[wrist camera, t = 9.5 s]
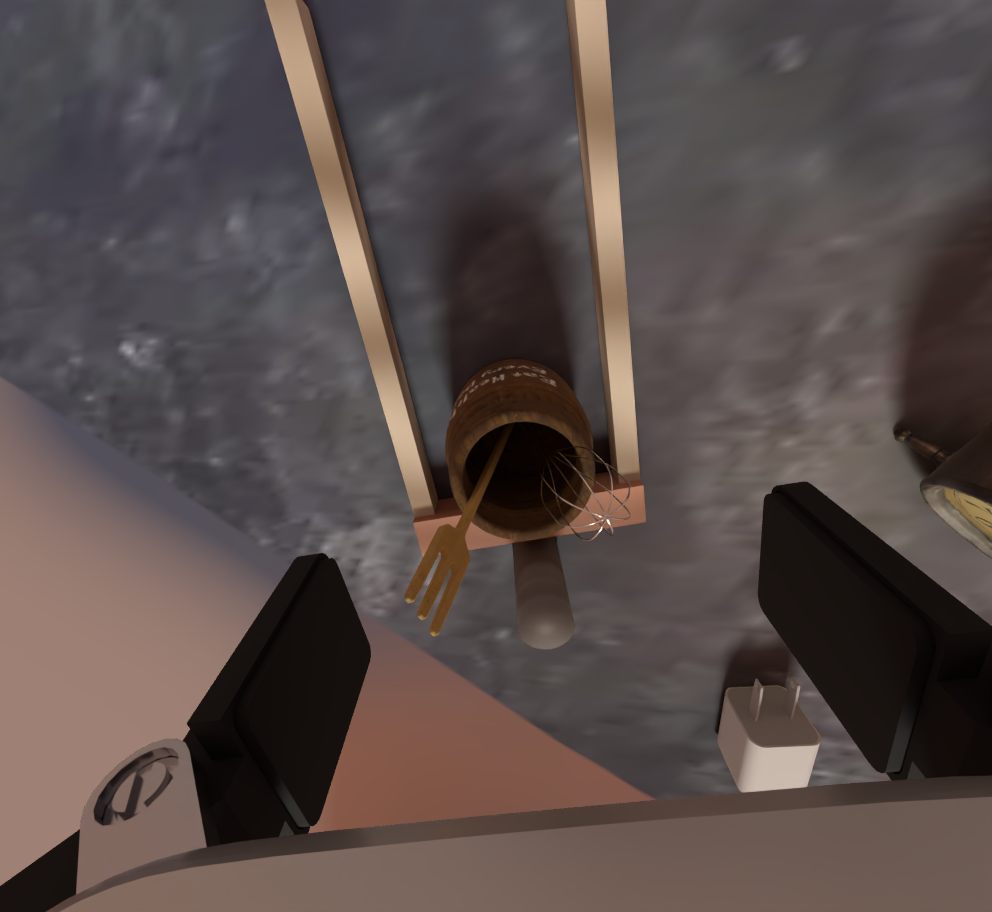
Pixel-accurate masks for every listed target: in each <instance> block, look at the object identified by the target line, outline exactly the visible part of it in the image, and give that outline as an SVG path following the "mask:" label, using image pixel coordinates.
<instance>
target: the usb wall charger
mask: <svg viewBox="0 0 992 912" xmlns="http://www.w3.org/2000/svg"><path fill="white" fill-rule="evenodd" d="M793 683H794V684H795V687H796V690H795V689H794V686H793ZM757 685H758V686H757ZM799 690H800V686H799V684H798V683H797V681H796V680H795V679H794V677H792V678H791V680H790V683H789V686H788V689H786V688H784V687H782V686H779V685H771V686H762V685H761V684H760V682H759V680H758V679H755V683H754V686H751V687H731V688H728V689H727V690H726V692H725V697H724V703H723V709H722V715H721V721H720V727H719V733H718V739H717V743H718V746H719V748H720V750H721V752H722V754H723V757H724V759H725V761H726V763H727V765H728V767H729V770H730V772H731V774H732V776H733V778H734V780H735V783H736V785H737V787H738V788H739V790H740V791H741V792H755V791H766V790H778V789H790V788H801V787H807V785H808V781H809V778H810V775H811V771H812V768H813V764H814V761H815V758H816V754H817V751H818V747H819V744H820V741H821V738H820V735H819V733H818V731H817V730H816V729H815V727H814V726H813V724H812V723H811V721H810V720H809V718H808V717H807V715H806V714H805V712H804V711H803V710H802V708H801V707H800V705H799V704H798V702H797V701H798V696H799Z"/></svg>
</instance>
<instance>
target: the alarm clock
mask: <svg viewBox="0 0 992 912" xmlns="http://www.w3.org/2000/svg"><path fill="white" fill-rule="evenodd" d="M895 439H896V440H897V441H899V442H905V443H907V444H909V445H910V446H911V447H912V449H914V450H915V451H916V452H918V453H919V454H920V455H922V456H923V457H925V458H927V459H929V460H931V461H933V462H934V463H935V464H936V470H935V471H934V472H933V473H931V474H930V475H929V476H928V477H927V478H925V479H923V480H922V481H921V483H920V491H921V494H922V496H923V498H924V500H925V502H926V503H927V504H928V505H929V507H930V508H931V509H932V510H933V511H934V512H935V513H936V514H937V515H938V516H939V517H940V518H941V519H942V520H943V521H945V522H946V523H947V524H948V525H949V526H950V527H951V528H952V529H953V530H955V531H956V532H957V533H958V534H960V535H961V536H962V537H963V538H965V539H966V540H967V541H969V542H970V543H971V544H973V545H974V546H975V547H976V548H978V549H979V550H980V551H982V552H983V553H984V554H985V555H987V556H988V557H990V558H992V423H991V424H989V425H988V426H987V427H985V428H984V429H983V430H982V431H981V432H979V433H978V434H977V435H976V436H975V437H973V438H972V439H971V440H970V441H969V442H967V443H966V444H965V445H964V446H963V447H962V448H960V449H959V450H958V451H957V452H949V451H946V450H944V449H942V448H941V447H939V446H938V445H936V444H933V443H931V442H928V441H925V440H922V439H919V438H916V437H914V436H913V435H912V433H911V431H909V430H907V429H900V430H898V431H897V433H896V434H895Z"/></svg>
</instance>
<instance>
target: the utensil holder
mask: <svg viewBox="0 0 992 912" xmlns="http://www.w3.org/2000/svg"><path fill="white" fill-rule="evenodd" d="M594 455H595V456H596V457H597V458H598V459H599V460H600V461H598V460H595V459H594ZM446 460H447V464H448V468H449V479H450V484H451V489H452V492H453V495H454V498H455V500H456V502H457V504H458V506H459V508H460V509H461V511H462V512H463V514H462V516H461V518H460V520H459V522H458V524H457V526H456V528H455V527H453V526H451V525H449V524H445V525H442V526H439V527H438V529H437V531H436V533H435V535H434V537H433V539H432V541H431V543H430V545H429V547H428V549H427V551H426V553H425V555H424V557H423V559H422V561H421V563H420V565H419V567H418V569H417V571H416V573H415V575H414V577H413V579H412V581H411V583H410V585H409V587H408V589H407V591H406V593H405V600H406V601H407V602H408V603H411V602H414V601H415V599H416V597H417V595H418V593H419V591H420V589H421V587H422V585H423V583H424V581H425V580H426V578H427V576H428V574H429V572H430V570H431V568H432V566H433V564H434V562H435V561H436V559H437V557H438V555H439V553H440V554H441V560H440V562H439V564H438V567H437V569H436V571H435V573H434V576H433V578H432V580H431V582H430V584H429V587H428V589H427V591H426V593H425V596H424V598H423V600H422V602H421V605H420V607H419V609H418V617H419V618H420V619H421V620H423V619H426V618H427V616H428V614H429V612H430V610H431V608H432V606H433V604H434V601H435V599H436V597H437V595H438V593H439V591H440V589H441V587H442V585H443V583H444V580H445V578H446V576H447V574H448V572H449V570H450V568H451V576H450V579H449V581H448V584H447V586H446V589H445V591H444V594H443V596H442V599H441V601H440V603H439V606H438V608H437V611H436V613H435V616H434V618H433V621H432V623H431V626H430V633H431V634H432V635H433V636H436V635H438V634H439V632H440V630H441V628H442V626H443V623H444V621H445V619H446V616H447V614H448V612H449V609H450V607H451V605H452V602H453V600H454V598H455V595H456V593H457V591H458V588H459V586H460V584H461V582H462V579H463V577H464V575H465V572H466V570H467V567H468V565H469V562H470V555H469V551H468V548H467V544H466V541H465V535H466V533H467V530H468V528H469V526H470V524H471V522H472V523H473V524H474V525H476V526H477V527H479V528H480V529H482V530H483V531H485V532H487V533H489V534H492V535H494V536H497V537H500V538H505V539H510V540H532V539H538V538H542V537H545V536H548V535H551V534H553V533H555V532H557V531H559V530H561V529H563V528H564V527H569V528H571V529H572V531H573V532H574V533H575V534H576V536H577V537H578V538H579V539H581V540H583V541H590V540H592V539H594V538H595V537H596V536H597V535H598V534H599V533H600V531H601V530H602V528H603V529H604V530H605V531H606V532H607V533H608V534H609V535H610V536H614V531H613V528H612V526H611V524H610V521H609V519H614V520H627V519H629V518H630V516H631V513H630V511H629V510H628V509H627V508H626V506H625V505H624V504H625V503H626V501H627V500H628V498H629V495H630V485H629V483H628V481H627V480H626V479H625V478H624V477H623V476H622V475H621V474H620V473H619V472H617V471H616V470H615V469H614V468H612V467H611V466H610V465H608V464H606V463H605V462H604V461H603V460H602V459H601V458H600V457H598V456H597V455H596V454H595V453H594V452H593V437H592V432H591V428H590V424H589V421H588V419H587V416H586V414H585V412H584V410H583V408H582V406H581V404H580V403H579V401H578V399H577V398H576V396H575V394H574V393H573V391H572V390H571V388H570V387H569V386H568V384H567V383H566V382H565V381H564V380H563V379H562V378H561V377H560V376H559V375H558V374H557V373H556V372H554V371H553V370H551V369H550V368H548V367H546V366H544V365H542V364H540V363H537V362H534V361H530V360H524V359H508V360H503V361H499V362H496V363H493V364H490V365H488V366H486V367H484V368H483V369H481V370H480V371H478V372H477V373H476V374H475V375H474V376H472V377H471V378H470V379H469V381H468V382H467V383H466V384H465V385H464V387H463V388H462V390H461V392H460V393H459V395H458V397H457V400H456V402H455V405H454V408H453V411H452V414H451V417H450V421H449V425H448V429H447V435H446ZM595 461H597V462H600V463H603V464H604V465H605V466H606V467H607V469H608V472H609V475H610V479H611V492H610V491H609V490H607V489H606V488H605V487H603V486H602V485H600V484H599V483H597V482H596V481H595ZM608 467H610V468H611V469H613V470H614V471H615V472H616V473H617V474H618V475H619V476H621V477H622V478H623V479H624V480H625V482H626V483H627V484H628V487H629V492H628V496H627V498H626V500H625V501H624V503H622V502H621V501H620V500H619V499H617V498H616V497H615V496H614V495H613V481H612V476H611V472H610V470H609V468H608ZM594 482H595V483H597V484H598V485H599V486H601V487H602V488H604V489H605V490H606V491H608V492H609V493H610V494H611V499H610V504H609V508H608V512H607V515H606V513H605V511H604V510H603V508H602V506H601V504H600V503H599V501H598V499H597V497H596V496H595V494H594V493H593V491H592V490H593V487H594ZM591 493H592V494H593V496H594V498H595V499H596V501H597V503H598V504H599V506H600V508H601V510H602V511H603V513H604V515H605V516H603V515H599V514H595V513H592V512H591V511H590V510H589V509H588V508H587V506H586V504H587V502H588V500H589V498H590V496H591ZM612 497H614V498H615V499H616V500H617V501H618V502H619V503H620V504H621V506H620V507H619V508H618V509H617V510H615V511H614V512H612V513H611V514H609V511H610V508H611V504H612ZM622 506H623V507H624V508H625V509H626V510H627V511H628V513H629V516H628V517H627V518H612V517H609V516H611V515H613V514H614V513H615V512H617V511H618V510H619V509H620V508H621V507H622ZM584 507H586V509H587V510H588V511H587V510H584ZM582 511H584V512H587V513H590V514H591V515H592V516H593V517H594V518H595V520H596V522H594V523H591V524H587V525H583V526H570V523H571V522H572V521H573V520H574V519H575V518H576V517H577V516H578V515H579V514H580V513H581V512H582ZM608 514H609V515H608ZM594 515H596V516H599V517H604V518H602V519H600V520H597V519H596V517H595V516H594ZM606 517H607V518H606ZM604 519H605V520H604ZM602 520H604V522H603V524H601V523H600V521H602ZM606 520H607V521H608V523H609V526H610V528H611V530H612V534H610V533H609V532H608V531H607V530H606V529H605V527H604V524H605V522H606ZM596 523H599V524H600V525H601V528H600V530H599V531H598V533H597V534H596V535H595V536H594V537H592V538H590V539H582V538H581V537H580V536H579V535H578V534H577V533H576V532H575V531H574V529H573V528H581V527H587V526H590V525H593V524H596Z"/></svg>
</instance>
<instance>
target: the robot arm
mask: <svg viewBox="0 0 992 912" xmlns="http://www.w3.org/2000/svg"><path fill="white" fill-rule="evenodd" d="M758 599H759V603H760V606H761V608H762V610H763V612H764V614H765V615H766V617H767V618H768V619H769V621H770V622H771V624H772V625H773V627H774V628H775V629H776V631H777V632H778V634H779V635H780V637H781V638H782V639H783V641H784V642H785V644H786V645H787V647H788V648H789V649H790V651H791V652H792V654H793V655H794V656H795V658H796V659H797V661H798V662H799V664H800V665H801V666H802V668H803V669H804V671H805V672H806V674H807V675H808V676H809V678H810V679H811V681H812V682H813V684H814V685H815V686H816V688H817V689H818V691H819V692H820V694H821V695H822V696H823V698H824V699H825V701H826V702H827V703H828V705H829V706H830V708H831V709H832V711H833V712H834V713H835V715H836V716H837V718H838V719H839V721H840V722H841V723H842V725H843V726H844V728H845V729H846V731H847V732H848V733H849V735H850V736H851V738H852V739H853V741H854V742H855V743H856V745H857V746H858V748H859V749H860V750H861V752H862V753H863V755H864V756H865V758H866V759H867V760H868V762H869V763H870V764H871V766H872V767H873V768H874V769H875V770H876V771H878V772H880V773H887V775H888V776H889V777H890V779H891V780H892V781H880V782H865V783H850V784H836V785H825V786H813V787H801V788H790V789H778V790H766V791H755V792H743V793H732V794H720V795H708V796H697V797H685V798H673V799H662V800H651V801H640V802H630V803H619V804H608V805H597V806H585V807H574V808H564V809H553V810H542V811H531V812H520V813H510V814H499V815H488V816H477V817H467V818H457V819H447V820H437V821H426V822H416V823H407V824H396V825H386V826H375V827H366V828H355V829H345V830H334V831H325V832H317V833H308V832H309V829H310V826H314V825H315V824H316V823H317V822H318V820H319V818H320V816H321V813H322V810H323V807H324V804H325V801H326V797H327V794H328V791H329V788H330V785H331V782H332V779H333V776H334V773H335V769H336V766H337V763H338V760H339V757H340V754H341V750H342V747H343V744H344V741H345V738H346V734H347V732H348V729H349V725H350V722H351V719H352V716H353V713H354V709H355V707H356V703H357V700H358V697H359V694H360V691H361V687H362V684H363V682H364V678H365V675H366V672H367V669H368V666H369V663H370V658H371V650H370V645H369V642H368V639H367V637H366V634H365V632H364V629H363V627H362V625H361V622H360V620H359V617H358V615H357V612H356V609H355V607H354V604H353V602H352V600H351V597H350V595H349V592H348V590H347V587H346V585H345V582H344V580H343V577H342V575H341V572H340V570H339V567H338V565H337V563H336V561H335V560H334V559H332V558H330V559H329V558H328V556H327V555H326V554H324V553H319V554H313V555H306V556H300V557H297V558H296V559H295V560H294V561H293V563H292V564H291V566H290V567H289V569H288V571H287V572H286V574H285V575H284V577H283V578H282V580H281V581H280V583H279V584H278V586H277V587H276V589H275V590H274V592H273V593H272V595H271V596H270V598H269V599H268V601H267V602H266V604H265V605H264V607H263V608H262V610H261V611H260V613H259V614H258V616H257V618H256V619H255V621H254V622H253V624H252V625H251V627H250V628H249V630H248V631H247V633H246V634H245V636H244V637H243V639H242V640H241V642H240V643H239V645H238V646H237V648H236V649H235V651H234V652H233V654H232V655H231V657H230V659H229V660H228V662H227V663H226V665H225V666H224V668H223V669H222V671H221V672H220V674H219V675H218V677H217V678H216V680H215V681H214V683H213V684H212V686H211V687H210V689H209V690H208V692H207V693H206V695H205V696H204V698H203V699H202V701H201V703H200V704H199V706H198V707H197V709H196V710H195V712H194V713H193V715H192V716H191V718H190V719H189V721H188V722H187V725H188V726H189V728H190V730H189V732H188V734H187V735H186V737H185V738H184V740H183V741H181V740H179V739H164V740H160V741H157V742H154V743H151V744H149V745H147V746H145V747H143V748H141V749H139V750H138V751H136V752H134V753H133V754H132V755H130V756H129V757H128V758H126V759H125V760H123V761H122V762H121V763H119V764H118V765H117V766H116V767H115V768H114V769H113V770H112V771H111V772H110V773H109V774H108V775H106V777H105V778H104V779H103V780H102V781H101V783H100V784H99V785H98V786H97V788H96V789H95V790H94V791H93V793H92V794H91V796H90V798H89V800H88V801H87V803H86V805H85V807H84V810H83V814H82V818H81V824H80V830H78V831H77V832H75V833H74V834H73V835H71V836H70V837H69V838H67V839H66V840H64V841H63V842H61V843H60V844H59V845H57V846H56V847H54V848H53V849H52V850H50V851H49V852H47V853H46V854H45V855H43V856H42V857H41V858H39V859H38V860H36V861H35V862H33V863H32V864H31V865H29V866H28V867H26V868H25V869H24V870H22V871H21V872H19V873H18V874H17V875H15V876H14V877H12V878H11V879H10V880H8V881H7V882H5V883H4V884H3V885H1V886H0V912H992V626H991V625H989V624H988V623H987V622H986V621H984V620H983V619H982V618H981V617H979V616H978V615H977V614H975V613H974V612H973V611H972V610H970V609H969V608H968V607H967V606H965V605H964V604H963V603H961V602H960V601H959V600H958V599H956V598H955V597H954V596H953V595H951V594H950V593H949V592H947V591H946V590H945V589H944V588H942V587H941V586H940V585H939V584H937V583H936V582H935V581H933V580H932V579H931V578H930V577H928V576H927V575H926V574H925V573H923V572H922V571H921V570H920V569H918V568H917V567H916V566H914V565H913V564H912V563H911V562H909V561H908V560H907V559H906V558H904V557H903V556H902V555H900V554H899V553H898V552H897V551H895V550H894V549H893V548H892V547H890V546H889V545H888V544H886V543H885V542H884V541H883V540H881V539H880V538H879V537H878V536H876V535H875V534H874V533H872V532H871V531H870V530H869V529H867V528H866V527H865V526H864V525H862V524H861V523H860V522H859V521H857V520H856V519H855V518H853V517H852V516H851V515H850V514H848V513H847V512H846V511H845V510H843V509H842V508H841V507H839V506H838V505H837V504H836V503H834V502H833V501H832V500H831V499H829V498H828V497H827V496H825V495H824V494H823V493H822V492H820V491H819V490H818V489H817V488H815V487H814V486H813V485H812V484H810V483H808V482H798V483H791V484H785V485H778V486H775V487H774V488H773V490H772V493H771V494H767V495H766V496H765V498H764V505H763V521H762V537H761V553H760V569H759V585H758Z"/></svg>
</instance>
